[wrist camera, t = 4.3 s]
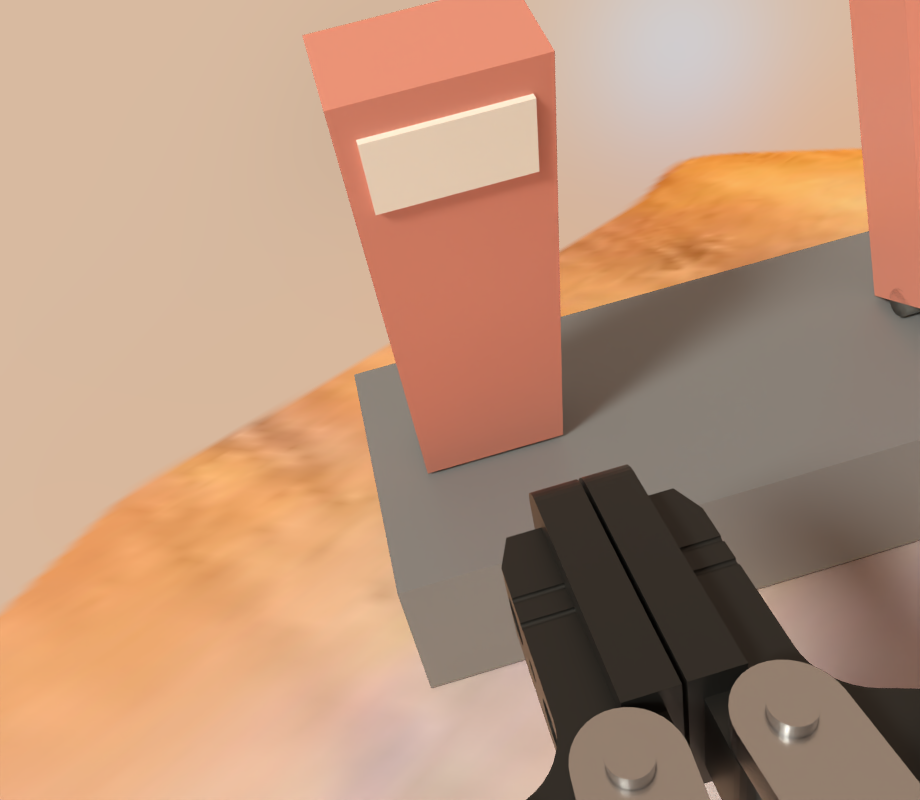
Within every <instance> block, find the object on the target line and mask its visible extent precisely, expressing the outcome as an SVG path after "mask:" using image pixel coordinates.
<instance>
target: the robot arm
mask: <svg viewBox="0 0 920 800" xmlns="http://www.w3.org/2000/svg"><path fill="white" fill-rule="evenodd" d="M529 501H530V506H531V511H532V517H533V522H534V527H535V529H534V530H531V531H527V532H524V533H520V534H517V535H514V536H510V537H507V538H506V542H505V549H504V555H503V561H502V567H501V569H502V573H503V577H504V582H505V586H506V590H507V594H508V599H509V603H510V607H511V611H512V616H513V620H514V624H515V628H516V633H517V636H518V639H519V642H520V645H521V648H522V651H523V654H524V657H525V660H526V663H527V665H528V668H529V672H530V675H531V678H532V681H533V684H534V687H535V689H536V692H537V696H538V699H539V702H540V705H541V708H542V711H543V714H544V717H545V720H546V723H547V726H548V729H549V732H550V735H551V737H552V740H553V743H554V746H555V749H556V754H555V758H554V762H553V765H552V767H551V770H550V772H549V774H548V775H547V777H546V779H545V780H544V782H543V783H542V785H541V786H540V787H539V788H538V789H537V790H536V792H534V793H533V794H532V795H531V796H530V797H529V798H528V799H526V800H710V798H709V795H708V793H707V790H706V788H705V785H704V783H707V782H711V781H713V782H714V785H715V787H716V789H717V791H718V793H719V795H720V797H721V799H722V800H920V689H901V688H868V687H862V686H856V685H852V684H849V683H846V682H842V681H840V680H837V679H835V678H833V677H832V676H831V675H829V674H827V673H826V672H824V671H822V670H821V669H819V668H817V667H814V666H813V665H812V664H810V663H809V662H808V661H807V660H806V659H805V658H804V657H803V656H802V655H801V654H800V653H799V652H798V650H797V649H796V648H795V646H794V645H793V643H792V642H791V640H790V639H789V637H788V636H787V634H786V633H785V631H784V630H783V628H782V627H781V625H780V624H779V622H778V621H777V619H776V618H775V616H774V615H773V613H772V612H771V610H770V609H769V607H768V606H767V604H766V603H765V601H764V600H763V598H762V597H761V595H760V594H759V592H758V591H757V589H756V588H755V586H754V585H753V583H752V582H751V580H750V579H749V577H748V576H747V574H746V573H745V571H744V570H743V568H742V567H741V565H740V564H738V563H737V561H736V558H735V556H734V554H733V553H732V551H731V550H730V548H729V547H728V545H727V544H726V542H725V541H722V538H721V535H720V533H719V532H718V530H717V529H716V527H715V526H714V524H713V523H712V521H711V520H710V518H709V517H708V515H707V514H706V512H705V511H704V509H703V508H702V507H700V506H699V505H697V504H696V503H694V502H693V501H691V500H690V499H689V498H687V497H686V496H684V495H683V494H681V493H680V492H678V491H677V490H675V489H674V488H672V489H669V490H665V491H662V492H659V493H655V494H652V495H648V494H647V493H646V491H645V489H644V487H643V486H642V484H641V482H640V481H639V479H638V477H637V476H636V474H635V472H634V471H633V469H632V468H631V467H630V466H629V465H627V464H626V465H622V466H619V467H615V468H612V469H609V470H605V471H602V472H598V473H595V474H592V475H588V476H585V477H581V478H579V481H578V480H577V479H575V480H572V481H568V482H565V483H562V484H558V485H555V486H551V487H548V488H544V489H541V490H538V491H534V492H531V493H529Z"/></svg>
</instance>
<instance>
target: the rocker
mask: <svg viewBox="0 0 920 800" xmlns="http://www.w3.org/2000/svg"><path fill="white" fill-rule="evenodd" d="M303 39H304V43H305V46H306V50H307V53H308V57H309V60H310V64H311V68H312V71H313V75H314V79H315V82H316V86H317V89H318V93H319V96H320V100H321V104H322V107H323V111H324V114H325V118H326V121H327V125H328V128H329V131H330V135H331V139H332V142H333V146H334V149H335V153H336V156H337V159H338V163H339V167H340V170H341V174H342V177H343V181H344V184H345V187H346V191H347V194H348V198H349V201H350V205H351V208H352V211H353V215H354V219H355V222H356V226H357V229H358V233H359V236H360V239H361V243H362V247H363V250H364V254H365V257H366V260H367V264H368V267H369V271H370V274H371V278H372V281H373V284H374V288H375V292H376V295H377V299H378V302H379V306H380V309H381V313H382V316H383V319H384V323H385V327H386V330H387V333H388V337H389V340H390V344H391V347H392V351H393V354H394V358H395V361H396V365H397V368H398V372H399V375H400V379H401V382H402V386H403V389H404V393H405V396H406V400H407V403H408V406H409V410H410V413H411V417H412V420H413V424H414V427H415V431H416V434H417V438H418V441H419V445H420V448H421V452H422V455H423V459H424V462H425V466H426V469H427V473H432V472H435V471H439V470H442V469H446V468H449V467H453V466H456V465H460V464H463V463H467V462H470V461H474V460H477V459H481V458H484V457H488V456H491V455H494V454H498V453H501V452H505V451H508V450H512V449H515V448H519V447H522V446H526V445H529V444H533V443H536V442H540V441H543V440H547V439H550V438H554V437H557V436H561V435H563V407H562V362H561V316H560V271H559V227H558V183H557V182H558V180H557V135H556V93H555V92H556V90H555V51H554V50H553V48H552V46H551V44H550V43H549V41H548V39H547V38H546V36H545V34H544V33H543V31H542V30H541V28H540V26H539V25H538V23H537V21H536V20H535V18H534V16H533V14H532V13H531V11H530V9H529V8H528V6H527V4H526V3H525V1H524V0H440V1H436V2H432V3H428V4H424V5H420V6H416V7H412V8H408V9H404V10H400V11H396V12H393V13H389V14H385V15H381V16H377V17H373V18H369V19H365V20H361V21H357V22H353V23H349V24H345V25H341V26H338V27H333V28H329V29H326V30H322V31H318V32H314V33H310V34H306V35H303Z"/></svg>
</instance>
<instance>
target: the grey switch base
mask: <svg viewBox="0 0 920 800" xmlns="http://www.w3.org/2000/svg"><path fill="white" fill-rule="evenodd" d="M561 362H562V407H563V435H561V436H557V437H554V438H550V439H547V440H543V441H540V442H536V443H533V444H529V445H526V446H522V447H519V448H515V449H512V450H508V451H505V452H501V453H498V454H494V455H491V456H488V457H484V458H481V459H477V460H474V461H470V462H467V463H463V464H460V465H456V466H453V467H449V468H446V469H442V470H439V471H435V472H432V473H427V469H426V466H425V462H424V459H423V455H422V452H421V448H420V445H419V441H418V438H417V434H416V431H415V427H414V424H413V420H412V417H411V413H410V410H409V406H408V403H407V400H406V396H405V393H404V389H403V386H402V382H401V379H400V375H399V372H398V368H397V365H396V363H395V364H391V365H388V366H384V367H380V368H377V369H373V370H370V371H366V372H363V373H359V374H355V380H356V385H357V391H358V396H359V401H360V406H361V411H362V416H363V421H364V426H365V431H366V436H367V441H368V446H369V451H370V456H371V461H372V466H373V471H374V477H375V482H376V487H377V492H378V497H379V502H380V507H381V512H382V517H383V522H384V527H385V532H386V537H387V542H388V547H389V552H390V557H391V562H392V568H393V573H394V578H395V583H396V588H397V593H398V596H399V599H400V602H401V605H402V607H403V610H404V613H405V616H406V619H407V621H408V624H409V627H410V630H411V633H412V635H413V638H414V641H415V644H416V647H417V649H418V652H419V655H420V658H421V661H422V663H423V666H424V669H425V672H426V675H427V678H428V680H429V683H430V686H431V688H434V687H437V686H441V685H444V684H447V683H451V682H454V681H457V680H460V679H464V678H467V677H470V676H474V675H477V674H480V673H483V672H487V671H490V670H493V669H497V668H500V667H503V666H507V665H510V664H513V663H516V662H520V661H523V660H525V657H524V654H523V651H522V648H521V645H520V642H519V639H518V636H517V633H516V628H515V624H514V620H513V616H512V611H511V607H510V603H509V599H508V594H507V590H506V586H505V582H504V577H503V573H502V569H501V567H502V561H503V555H504V549H505V542H506V538H507V537H510V536H514V535H517V534H520V533H524V532H527V531H531V530H534V529H535V527H534V522H533V517H532V511H531V506H530V501H529V493H531V492H534V491H538V490H541V489H544V488H548V487H551V486H555V485H558V484H562V483H565V482H568V481H572V480H575V479H577V480H578V481H579V478H581V477H585V476H588V475H592V474H595V473H598V472H602V471H605V470H609V469H612V468H615V467H619V466H622V465H626V464H627V465H629V466H630V467H631V468H632V469H633V471H634V472H635V474H636V476H637V477H638V479H639V481H640V482H641V484H642V486H643V487H644V489H645V491H646V493H647V494H648V495H652V494H655V493H659V492H662V491H665V490H669V489H672V488H674V489H675V490H677V491H678V492H680V493H681V494H683V495H684V496H686V497H687V498H689V499H690V500H691V501H693V502H694V503H696V504H697V505H699V506H700V507H702V508H703V509H704V511H705V512H706V514H707V515H708V517H709V518H710V520H711V521H712V523H713V524H714V526H715V527H716V529H717V530H718V532H719V533H720V535H721V538H722V541H725V542H726V544H727V545H728V547H729V548H730V550H731V551H732V553H733V554H734V556H735V558H736V561H737V563H738V564H740V565H741V567H742V568H743V570H744V571H745V573H746V574H747V576H748V577H749V579H750V580H751V582H752V583H753V585H754V586H755V588H756V589H760V588H764V587H767V586H770V585H774V584H777V583H780V582H784V581H787V580H790V579H793V578H797V577H800V576H803V575H807V574H810V573H813V572H816V571H820V570H823V569H826V568H830V567H833V566H836V565H840V564H843V563H846V562H849V561H853V560H856V559H859V558H863V557H866V556H869V555H873V554H876V553H879V552H882V551H886V550H889V549H892V548H896V547H899V546H902V545H906V544H909V543H912V542H915V541H919V540H920V312H918V313H915V314H911V315H908V316H904V317H900V316H898V315H896V314H895V312H894V311H893V309H892V307H891V304H890V300H889V299H885V298H882V297H878V296H875V293H874V282H873V270H872V259H871V247H870V235H869V231H868V232H864V233H861V234H857V235H853V236H850V237H846V238H843V239H839V240H835V241H832V242H828V243H825V244H821V245H818V246H814V247H810V248H807V249H803V250H800V251H796V252H793V253H789V254H785V255H782V256H778V257H775V258H771V259H767V260H764V261H760V262H757V263H753V264H750V265H746V266H742V267H739V268H735V269H732V270H728V271H724V272H721V273H717V274H714V275H710V276H707V277H703V278H699V279H696V280H692V281H689V282H685V283H681V284H678V285H674V286H671V287H667V288H664V289H660V290H656V291H653V292H649V293H646V294H642V295H638V296H635V297H631V298H628V299H624V300H621V301H617V302H613V303H610V304H606V305H603V306H599V307H595V308H592V309H588V310H585V311H581V312H578V313H574V314H570V315H567V316H563V317H561Z"/></svg>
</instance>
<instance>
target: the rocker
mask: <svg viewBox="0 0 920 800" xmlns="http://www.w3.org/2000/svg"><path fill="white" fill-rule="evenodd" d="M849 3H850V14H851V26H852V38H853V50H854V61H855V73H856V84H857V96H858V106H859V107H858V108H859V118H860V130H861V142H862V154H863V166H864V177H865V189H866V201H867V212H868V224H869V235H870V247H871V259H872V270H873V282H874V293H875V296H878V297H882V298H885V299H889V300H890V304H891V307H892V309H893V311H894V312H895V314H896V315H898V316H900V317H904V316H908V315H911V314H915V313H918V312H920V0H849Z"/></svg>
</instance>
